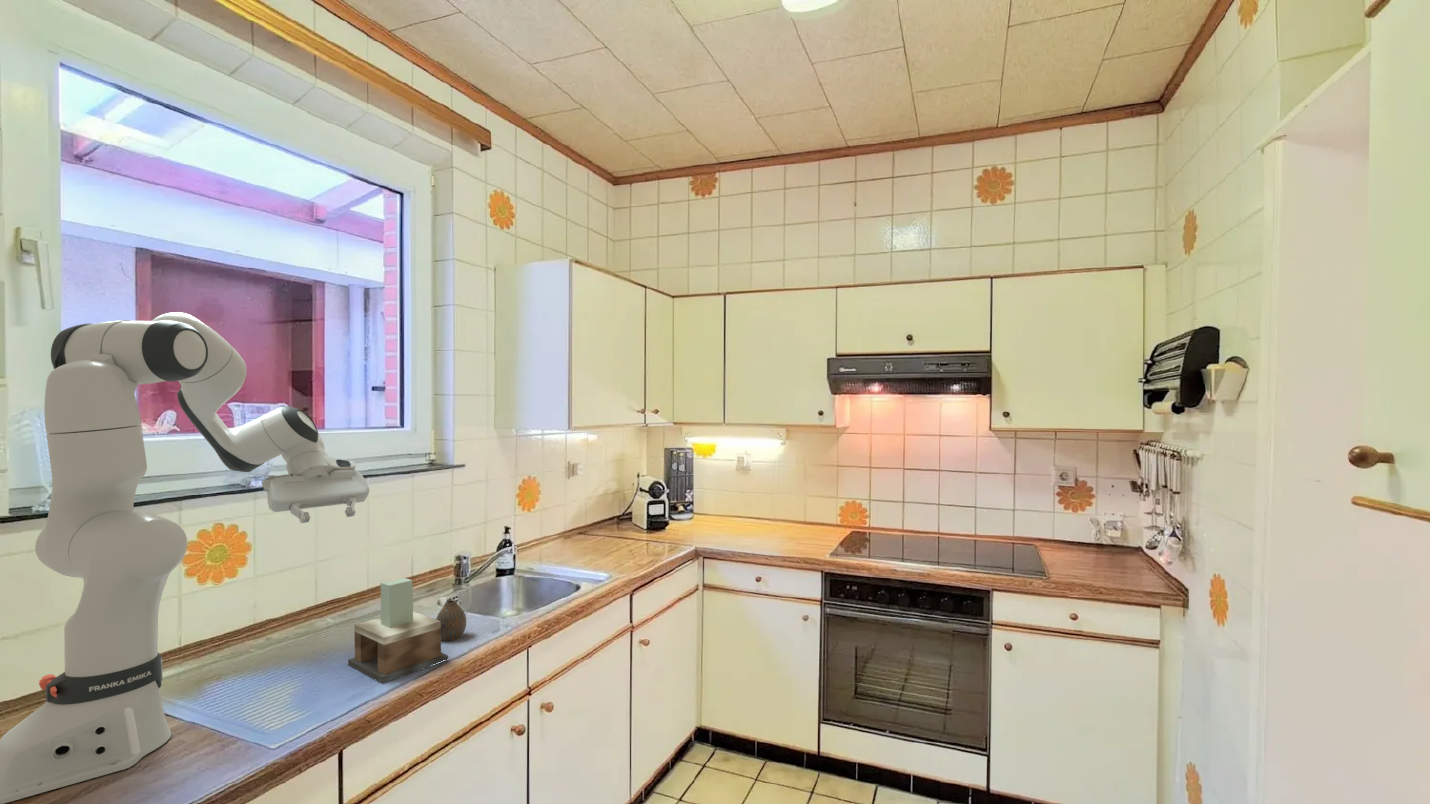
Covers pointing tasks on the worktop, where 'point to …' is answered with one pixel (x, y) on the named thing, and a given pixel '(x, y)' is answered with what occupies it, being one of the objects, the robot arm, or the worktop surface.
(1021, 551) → the worktop surface
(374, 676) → the bridge
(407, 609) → the block
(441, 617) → the vase
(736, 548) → the worktop surface
